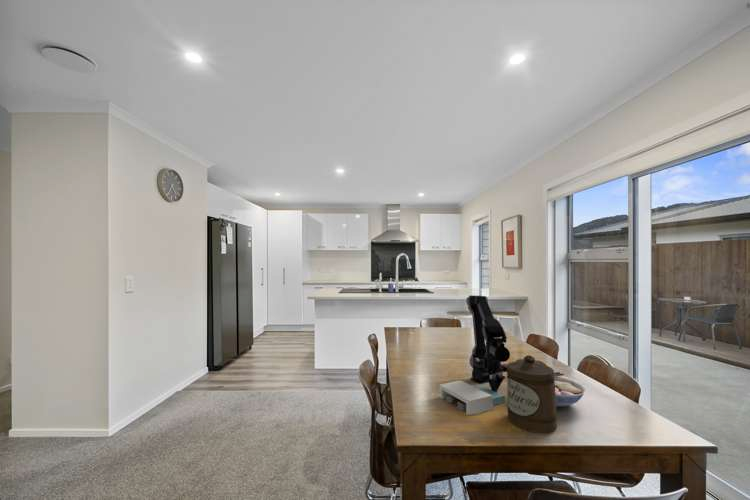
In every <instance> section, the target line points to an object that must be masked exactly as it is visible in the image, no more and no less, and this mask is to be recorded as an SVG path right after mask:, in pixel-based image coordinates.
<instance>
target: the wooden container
mask: <svg viewBox="0 0 750 500" xmlns="http://www.w3.org/2000/svg"><path fill="white" fill-rule="evenodd" d="M523 359H524V360H525V362H515V361H511V362H508V363H506V364H507V372H506V374H507V375H506V377H507V378H506V379H507V382H506V383H507V387H506V388H507V389H506V391H507V394H506V395H507V418H508V421H509V422H510V423H511V424H513V425H514V426H516V427H517V428H520V429H522V430H524V431H528V432H533V433H541V434H546V433H552V432H554V431H556V429H557V427H558V421H557V420H558V419H557V414H558V413H557V407H556V396H555V382H554V373H555V370H554V369H553V368H552V367H550V366H548V365H547V364H546V365H547V366H546V365H543V364H539V363H534V362H535V360H536V358H535V357H533V356H532V355H530V354H529V355H525V356H524V357H523Z"/></svg>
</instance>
